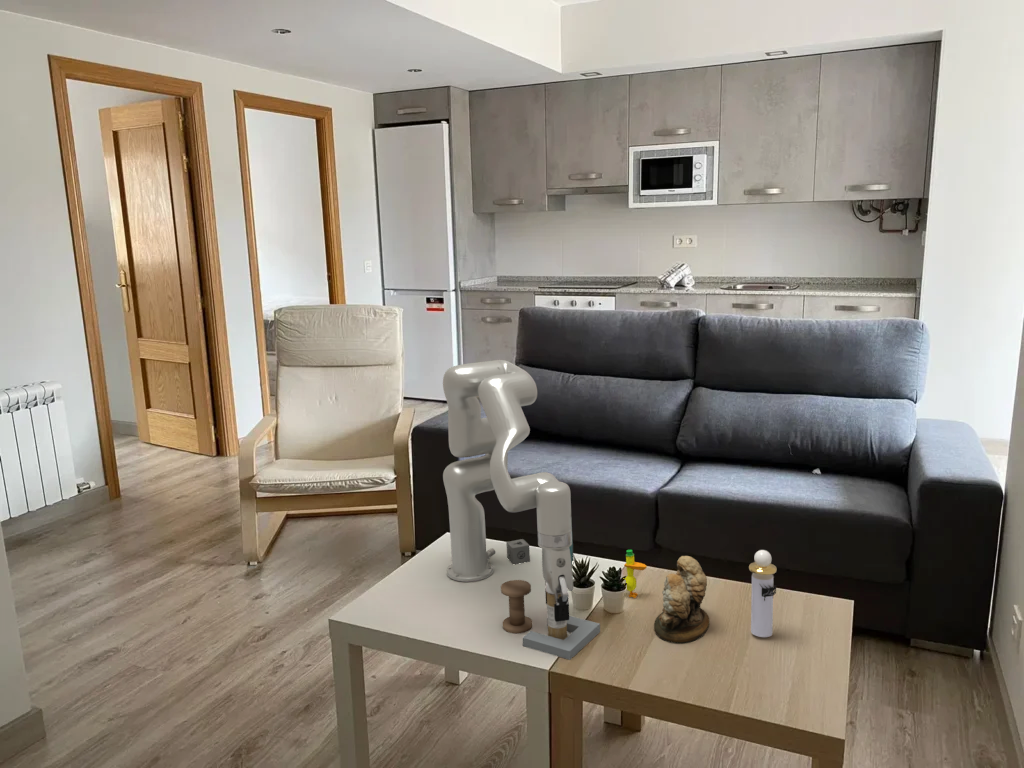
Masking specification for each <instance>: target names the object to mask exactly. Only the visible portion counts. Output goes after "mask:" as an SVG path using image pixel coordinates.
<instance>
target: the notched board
mask: <svg viewBox="0 0 1024 768" xmlns="http://www.w3.org/2000/svg"><path fill="white" fill-rule="evenodd" d="M546 623H547V624H546V626H547V627H548V621H547V620H546ZM600 632H601V623H600V622H595V621H591V620H587V619H584V618H580V617H576V616H573V615H569V620H567V633H570V634H569V635H568V637H567V638H565V639H564V640H562V639H558V638H554V637H551V636H548V634H544V633H540V632H537V631H533V630H529V631H528V633H526V634H525V635H524V636H523V637H522V646H523V647H525V648H529V649H532V650H535V651H539V652H541V653H545V654H549V655H553V656H556V657H559V658H563V659H566V660H569V661H570V660H572V659H573V658H574V657H575V656H576V655H577V654H578V653H579V652H580V651H581V650H582V649H583V648H584V647H586V646H587V645H588V644H589V643H590V642H591V641H592V640H594V638H595V637H596V636H597V635H599V633H600ZM572 657H573V658H572Z"/></svg>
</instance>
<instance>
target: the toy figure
mask: <svg viewBox="0 0 1024 768" xmlns="http://www.w3.org/2000/svg"><path fill="white" fill-rule="evenodd" d="M623 566H624V567H625V568H626V573H627V575H626V577H625V578H624V579H625V580H626V583H627V589H626V590H627V592H629V594H628V596H629V598H631V597H633V598H632V599H637V597H638V595H639V594H638V593H636V592H634V591H635V590H636V589H637V578H636V577H635V576H634V572H635V570H636V571H637V570H638V571H644V570H646V569H647V567H648V566H647V565H646V564H645V563H642V562H637V561H635V553H633V549H627V550H626V554H625V563H624V564H623Z"/></svg>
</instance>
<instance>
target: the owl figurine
mask: <svg viewBox="0 0 1024 768" xmlns="http://www.w3.org/2000/svg"><path fill="white" fill-rule="evenodd" d="M676 567H677V571H676V573H669V574H667V575H666V576H665V579H664V582H663V583H664V585H663V586H664V587H663V590H662V601H663V604H662V606H663V608H662V612H660V613H659V614H658V615H657V617H656V618H655V620H654V623H653V628H654V629H653V630H654V632H655V634H656V636H658V638H659V639H661V640H662V641H665V642H668V643H673V644H690V643H693V642H695V641H696V640H697V641H698V640H699V639H700V638H702V637H703V636H704V635H705V634H706V633H707V631H708V629H709V627H710V617H709V614H708V613H707V612H706V611H705V610H704V609H703V608H701V605H702V603H703V601H704V600H703V599H704V598H705V596H706V591H707V585H708V579H707V575H706V574H705V572H704V571H703V569H702V567H701V564H700V563H699V562H698V560H697V559H695V558H694V557H692V556H689V555H681V556H680V557H679V558H678V560H677V561H676Z"/></svg>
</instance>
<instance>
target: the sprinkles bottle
mask: <svg viewBox="0 0 1024 768" xmlns="http://www.w3.org/2000/svg"><path fill="white" fill-rule="evenodd" d="M545 588H546V592H547V604H546V613H547V614H546V615H547V618H546V622H547V621H548V626H547V636H551V637H554V638H558V639H562V640H564V639H565V638H567V637H568V636H569V635H568V631H567V620H566V621H559V622H556V621H555V615H554V604H556V603H555V596H554V593H553V592H552V591H551V590H550V588H549V586H548V584H547V582H546V586H545ZM556 590H560V587H559V588H556ZM560 596H561V593H558V599H559V597H560Z"/></svg>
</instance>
